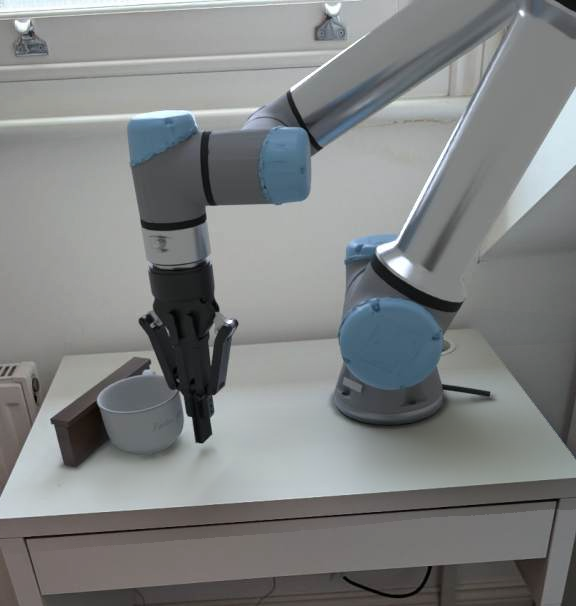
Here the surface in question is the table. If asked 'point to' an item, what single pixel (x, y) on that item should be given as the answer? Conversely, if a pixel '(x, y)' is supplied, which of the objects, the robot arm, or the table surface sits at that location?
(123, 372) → the back rail
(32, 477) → the table surface
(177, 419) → the teacup
